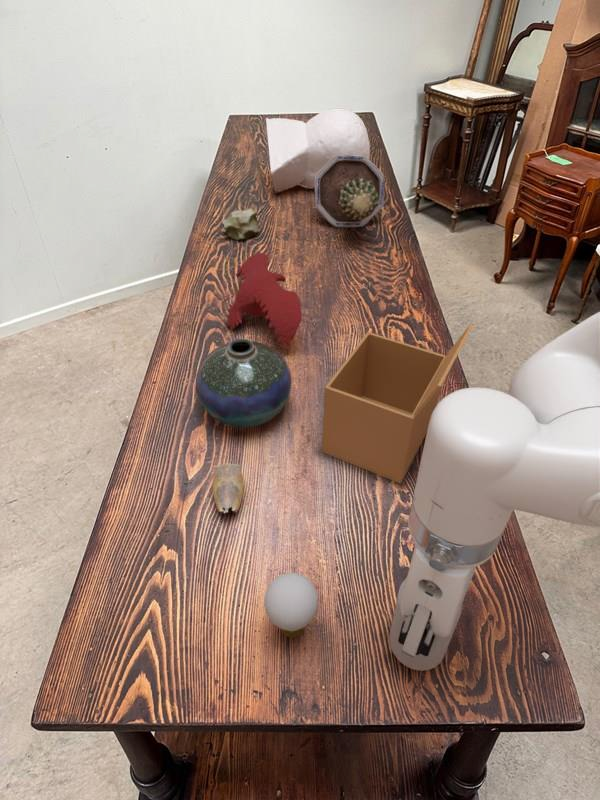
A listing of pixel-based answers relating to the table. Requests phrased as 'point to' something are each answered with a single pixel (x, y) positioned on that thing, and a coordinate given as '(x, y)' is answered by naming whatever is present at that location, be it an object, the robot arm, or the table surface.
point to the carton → (380, 405)
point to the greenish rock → (241, 224)
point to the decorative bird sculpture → (265, 299)
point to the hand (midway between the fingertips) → (425, 616)
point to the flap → (443, 370)
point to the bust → (312, 145)
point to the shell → (228, 487)
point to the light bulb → (291, 603)
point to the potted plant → (349, 190)
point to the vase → (243, 383)
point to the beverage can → (419, 660)
